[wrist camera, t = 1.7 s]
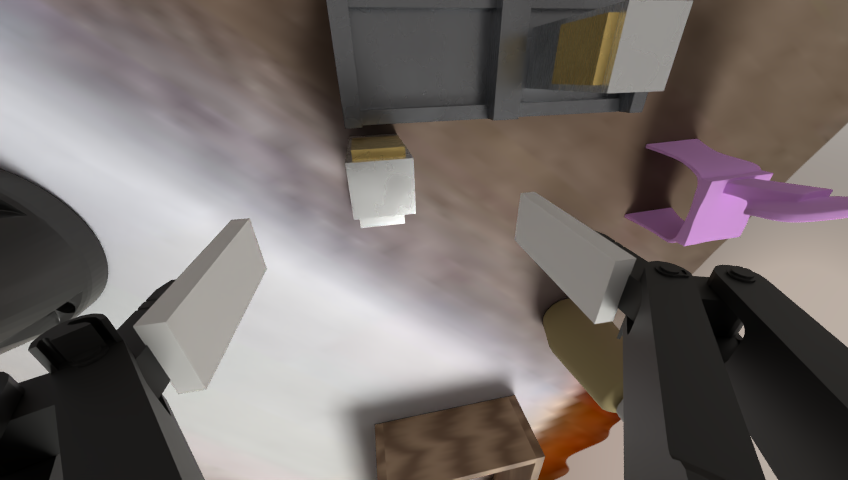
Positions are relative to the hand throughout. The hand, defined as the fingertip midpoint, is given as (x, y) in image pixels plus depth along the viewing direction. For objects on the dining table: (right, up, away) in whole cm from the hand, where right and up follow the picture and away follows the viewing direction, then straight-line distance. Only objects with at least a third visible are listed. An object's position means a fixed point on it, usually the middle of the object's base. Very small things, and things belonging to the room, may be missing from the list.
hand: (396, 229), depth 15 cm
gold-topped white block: (-3, +5, +12) cm, 14 cm away
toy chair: (+28, +6, +19) cm, 34 cm away
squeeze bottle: (+20, -11, +26) cm, 35 cm away
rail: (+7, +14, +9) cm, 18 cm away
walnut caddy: (+5, -41, +39) cm, 56 cm away
